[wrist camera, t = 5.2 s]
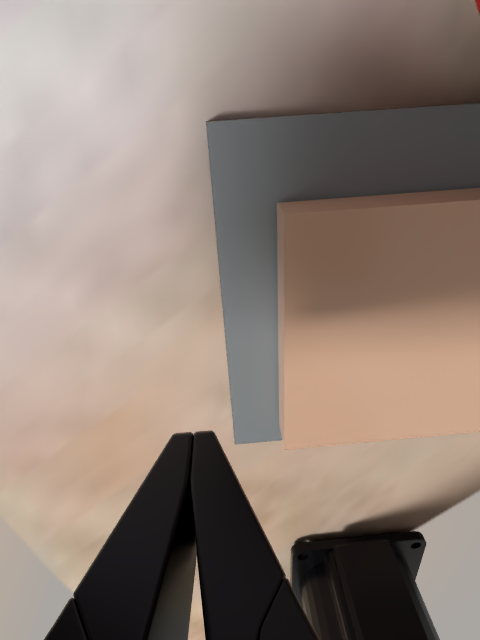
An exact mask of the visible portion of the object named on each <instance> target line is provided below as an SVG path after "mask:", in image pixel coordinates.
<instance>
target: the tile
mask: <svg viewBox="0 0 480 640" xmlns="http://www.w3.org/2000/svg"><path fill="white" fill-rule="evenodd" d="M277 261H278V365H279V426H280V431H281V436H282V440H283V445H284V450H286V449H297V448H308V447H319V446H329V445H340V444H351V443H362V442H372V441H383V440H394V439H405V438H415V437H426V436H437V435H448V434H458V433H469V432H480V188H469V189H455V190H442V191H428V192H415V193H401V194H387V195H374V196H360V197H347V198H333V199H320V200H306V201H293V202H279V203H277Z"/></svg>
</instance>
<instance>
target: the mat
mask: <svg viewBox="0 0 480 640" xmlns="http://www.w3.org/2000/svg"><path fill="white" fill-rule="evenodd" d="M206 125H207V137H208V148H209V159H210V170H211V181H212V193H213V204H214V215H215V226H216V237H217V249H218V260H219V271H220V282H221V293H222V305H223V316H224V327H225V338H226V349H227V361H228V372H229V383H230V394H231V405H232V417H233V428H234V439H235V444H245V443H256V442H267V441H278V440H282V436H281V431H280V426H279V365H278V261H277V203H279V202H293V201H306V200H320V199H333V198H347V197H360V196H374V195H387V194H401V193H415V192H428V191H442V190H455V189H469V188H480V103H472V104H457V105H442V106H427V107H413V108H398V109H383V110H368V111H353V112H338V113H324V114H309V115H294V116H279V117H264V118H249V119H234V120H220V121H206Z"/></svg>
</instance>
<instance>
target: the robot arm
mask: <svg viewBox="0 0 480 640" xmlns="http://www.w3.org/2000/svg"><path fill="white" fill-rule="evenodd" d="M425 546H426V541H425V539H424V537H423V535H422V534H421V533H420V532H416V531H413V532H403V533H393V534H383V535H373V536H363V537H354V538H344V539H334V540H324V541H314V542H304V543H298V544H296V545H294V546H293V547H292V548H291V580H290V582H289V580H288V579H287V578H285V573H284V571H283V569H282V567H281V565H280V563H279V561H278V559H277V557H276V555H275V553H274V551H273V549H272V547H271V545H270V543H269V541H268V539H267V537H266V535H265V533H264V531H263V529H262V527H261V525H260V523H259V521H258V519H257V517H256V515H255V513H254V511H253V509H252V507H251V505H250V503H249V501H248V499H247V497H246V495H245V493H244V491H243V489H242V487H241V485H240V483H239V481H238V479H237V477H236V475H235V473H234V471H233V469H232V467H231V465H230V463H229V461H228V459H227V457H226V455H225V453H224V451H223V449H222V447H221V445H220V443H219V441H218V439H217V437H216V435H215V433H214V432H213V431H199V432H195V433H194V435H193V433H191V432H186V433H175V434H173V435H172V437H171V438H170V440H169V441H168V443H167V445H166V446H165V448H164V449H163V451H162V453H161V454H160V456H159V457H158V459H157V461H156V462H155V464H154V465H153V467H152V469H151V470H150V472H149V473H148V475H147V477H146V478H145V480H144V481H143V483H142V485H141V486H140V488H139V489H138V491H137V493H136V494H135V496H134V497H133V499H132V501H131V502H130V504H129V505H128V507H127V509H126V510H125V512H124V513H123V515H122V517H121V518H120V520H119V521H118V523H117V525H116V526H115V528H114V529H113V531H112V533H111V534H110V536H109V537H108V539H107V541H106V542H105V544H104V545H103V547H102V549H101V550H100V552H99V553H98V555H97V557H96V558H95V560H94V561H93V563H92V565H91V566H90V568H89V569H88V571H87V573H86V574H85V576H84V577H83V579H82V581H81V582H80V584H79V585H78V587H77V589H76V590H75V592H74V598H71V599H70V600H69V601H68V603H67V604H66V606H65V608H64V609H63V611H62V612H61V614H60V616H59V617H58V619H57V620H56V622H55V624H54V625H53V627H52V628H51V630H50V631H49V633H48V634H47V636H46V637H45V639H44V640H188V631H189V622H190V612H191V603H192V594H193V584H194V575H195V566H196V556H197V561H198V570H199V580H200V589H201V599H202V609H203V618H204V628H205V637H206V640H440V639H439V636H438V634H437V632H436V629H435V627H434V625H433V622H432V620H431V618H430V615H429V613H428V611H427V608H426V606H425V603H424V601H423V599H422V596H421V594H420V592H419V589H418V587H417V585H416V582H415V579H416V576H417V572H418V569H419V566H420V563H421V559H422V556H423V553H424V550H425Z"/></svg>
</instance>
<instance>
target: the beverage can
mask: <svg viewBox="0 0 480 640" xmlns="http://www.w3.org/2000/svg"><path fill="white" fill-rule="evenodd" d="M475 3H476V7H477V10H478V13H479V15H480V0H475Z"/></svg>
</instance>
